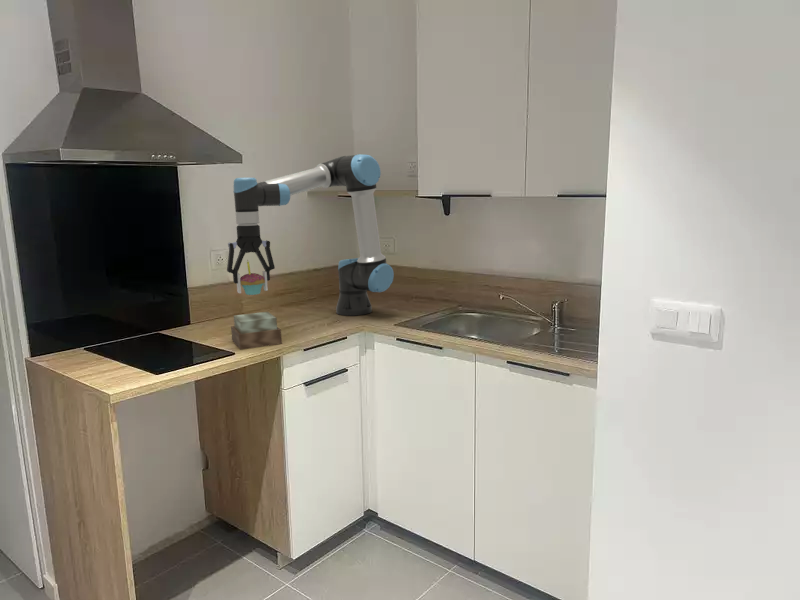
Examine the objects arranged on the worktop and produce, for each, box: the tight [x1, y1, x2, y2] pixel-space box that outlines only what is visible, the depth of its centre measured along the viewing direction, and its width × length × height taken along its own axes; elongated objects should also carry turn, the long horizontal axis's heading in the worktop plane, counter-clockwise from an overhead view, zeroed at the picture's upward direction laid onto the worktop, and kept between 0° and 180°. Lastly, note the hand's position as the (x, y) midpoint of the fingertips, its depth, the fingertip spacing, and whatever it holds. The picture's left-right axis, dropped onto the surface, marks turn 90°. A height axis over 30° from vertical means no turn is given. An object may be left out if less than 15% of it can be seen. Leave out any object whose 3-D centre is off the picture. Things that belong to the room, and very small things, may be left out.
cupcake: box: [240, 259, 265, 296], centre depth 196 cm, size 9×8×12 cm
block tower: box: [230, 311, 283, 350], centre depth 199 cm, size 14×14×9 cm
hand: (252, 291), depth 197 cm, fingers closed on cupcake, 8 cm apart
